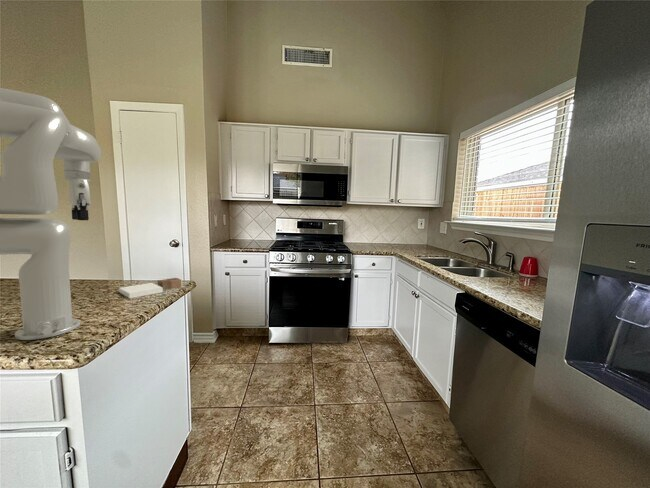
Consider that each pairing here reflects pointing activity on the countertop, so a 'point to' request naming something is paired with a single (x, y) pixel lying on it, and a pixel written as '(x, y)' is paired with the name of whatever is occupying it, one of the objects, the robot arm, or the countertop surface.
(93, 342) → the countertop surface
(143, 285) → the cutting board
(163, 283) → the two-tone wooden block
